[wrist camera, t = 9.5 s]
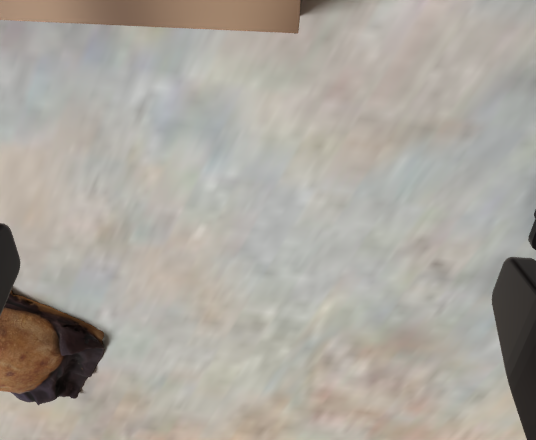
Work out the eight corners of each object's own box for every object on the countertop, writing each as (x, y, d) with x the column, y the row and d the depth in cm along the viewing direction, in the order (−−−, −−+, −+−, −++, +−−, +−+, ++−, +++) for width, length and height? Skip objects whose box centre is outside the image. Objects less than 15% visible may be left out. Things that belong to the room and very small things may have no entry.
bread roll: (-78, 339, 32) (-119, 387, 29) (-65, 249, 28) (-112, 294, 25) (82, 397, 35) (59, 447, 31) (118, 322, 30) (95, 372, 27)
